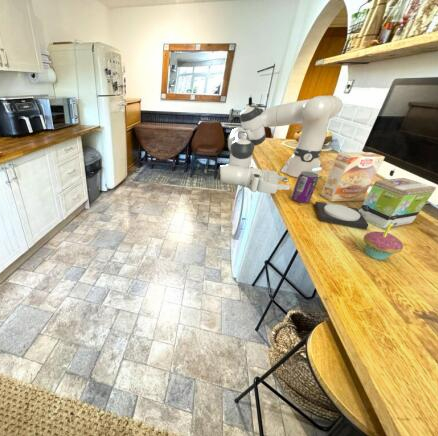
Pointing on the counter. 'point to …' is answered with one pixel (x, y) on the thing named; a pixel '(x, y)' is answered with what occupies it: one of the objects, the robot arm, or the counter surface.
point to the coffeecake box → (351, 176)
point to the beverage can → (304, 187)
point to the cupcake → (382, 244)
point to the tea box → (395, 201)
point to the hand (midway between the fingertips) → (288, 183)
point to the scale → (340, 215)
